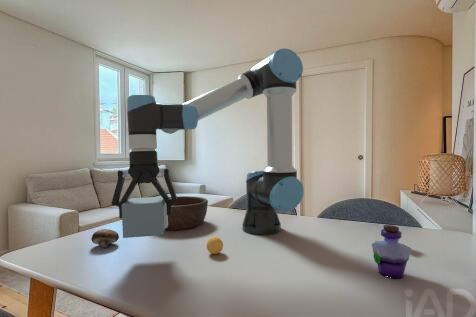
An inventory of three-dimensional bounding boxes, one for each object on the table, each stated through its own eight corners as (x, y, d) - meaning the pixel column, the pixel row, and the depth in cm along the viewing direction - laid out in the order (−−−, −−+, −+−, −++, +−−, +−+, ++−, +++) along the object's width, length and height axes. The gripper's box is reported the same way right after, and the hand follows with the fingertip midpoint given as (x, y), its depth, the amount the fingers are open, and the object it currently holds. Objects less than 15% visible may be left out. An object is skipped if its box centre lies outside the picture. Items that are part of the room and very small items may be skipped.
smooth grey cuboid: (167, 224, 82) (165, 196, 82) (162, 235, 72) (161, 202, 72) (132, 227, 81) (130, 198, 81) (123, 238, 71) (121, 204, 70)
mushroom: (105, 242, 82) (106, 223, 85) (84, 250, 83) (86, 231, 87) (123, 247, 88) (123, 229, 92) (104, 255, 90) (105, 237, 93)
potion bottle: (363, 270, 68) (363, 223, 68) (387, 264, 72) (387, 219, 72) (395, 285, 60) (395, 232, 60) (420, 278, 64) (420, 228, 64)
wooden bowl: (203, 232, 102) (203, 206, 102) (138, 233, 103) (138, 206, 103) (211, 217, 127) (210, 195, 127) (158, 217, 128) (158, 196, 128)
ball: (222, 250, 83) (222, 234, 83) (224, 256, 78) (223, 239, 78) (206, 251, 83) (206, 235, 82) (206, 257, 78) (206, 240, 78)
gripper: (184, 149, 81) (187, 221, 82) (105, 151, 78) (108, 227, 78) (183, 149, 74) (186, 228, 75) (95, 151, 70) (99, 235, 71)
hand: (146, 228), depth 76 cm, fingers closed on smooth grey cuboid, 10 cm apart
